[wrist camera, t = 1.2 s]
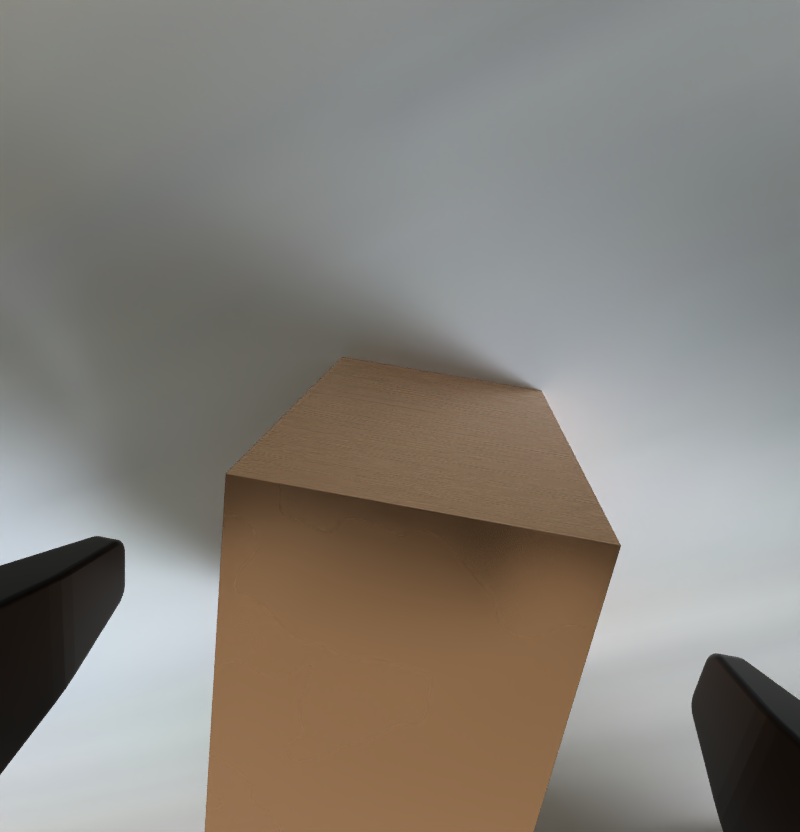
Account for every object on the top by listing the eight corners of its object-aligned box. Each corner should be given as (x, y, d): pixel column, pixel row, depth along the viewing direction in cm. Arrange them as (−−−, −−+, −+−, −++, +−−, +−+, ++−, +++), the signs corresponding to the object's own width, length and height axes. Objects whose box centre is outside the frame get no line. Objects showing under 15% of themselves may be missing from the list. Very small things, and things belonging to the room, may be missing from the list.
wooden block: (541, 390, 11) (620, 545, 6) (482, 640, 13) (498, 946, 8) (342, 356, 12) (225, 473, 6) (312, 607, 13) (201, 881, 8)
